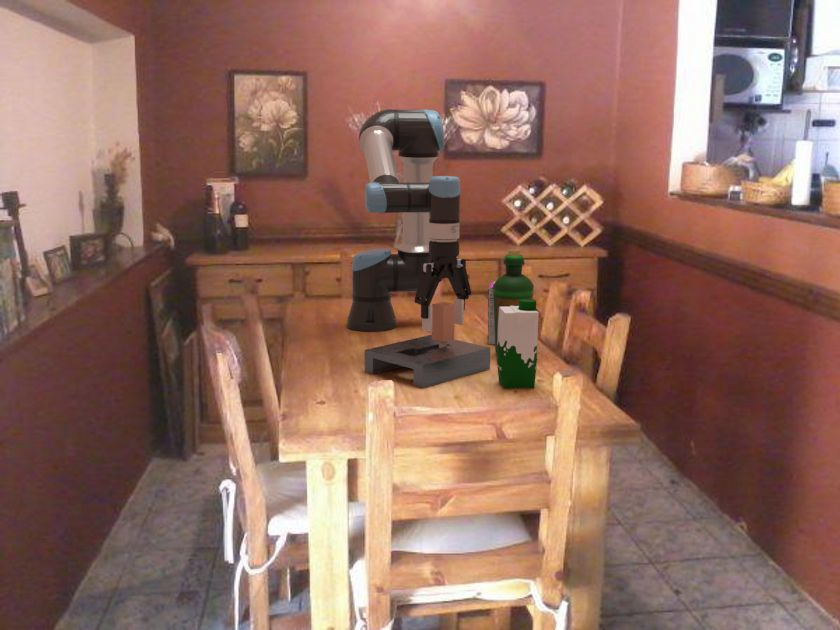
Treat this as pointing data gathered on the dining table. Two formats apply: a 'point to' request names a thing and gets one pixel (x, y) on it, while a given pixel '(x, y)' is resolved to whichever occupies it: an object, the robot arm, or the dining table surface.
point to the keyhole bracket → (429, 359)
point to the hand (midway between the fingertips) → (443, 327)
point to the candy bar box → (491, 315)
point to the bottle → (511, 286)
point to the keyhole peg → (442, 322)
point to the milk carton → (517, 344)
